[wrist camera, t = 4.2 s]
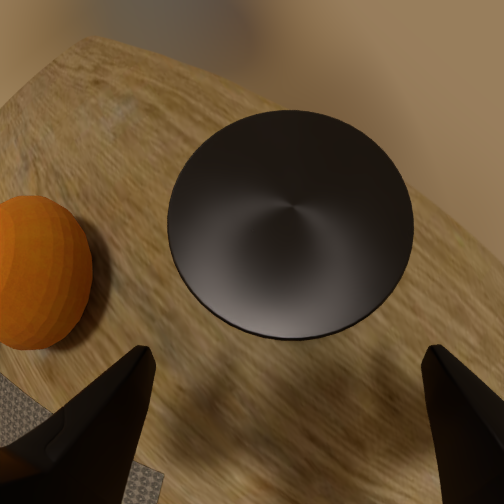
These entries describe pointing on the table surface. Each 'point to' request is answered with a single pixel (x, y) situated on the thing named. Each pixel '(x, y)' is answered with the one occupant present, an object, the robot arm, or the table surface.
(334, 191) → the canister
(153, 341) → the table surface
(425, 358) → the robot arm
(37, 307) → the fruit
